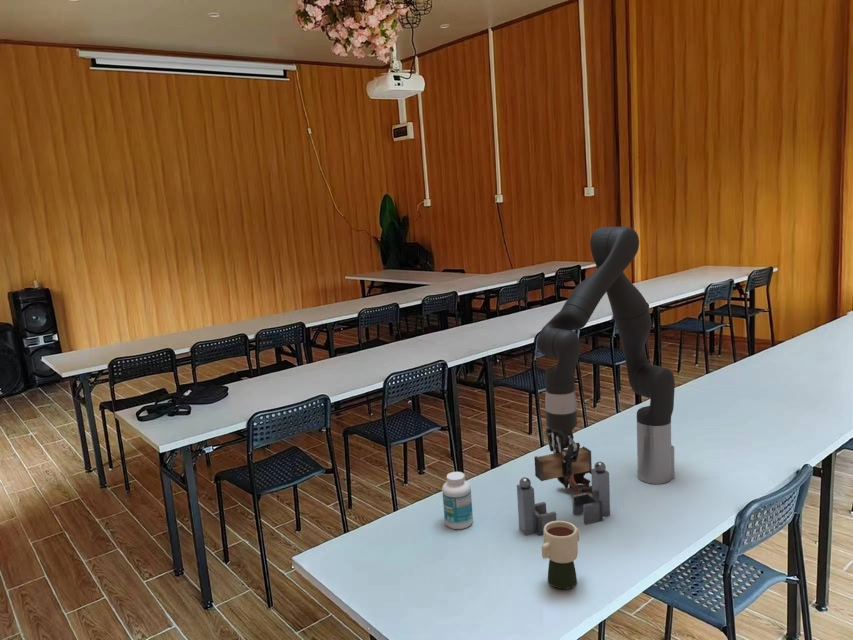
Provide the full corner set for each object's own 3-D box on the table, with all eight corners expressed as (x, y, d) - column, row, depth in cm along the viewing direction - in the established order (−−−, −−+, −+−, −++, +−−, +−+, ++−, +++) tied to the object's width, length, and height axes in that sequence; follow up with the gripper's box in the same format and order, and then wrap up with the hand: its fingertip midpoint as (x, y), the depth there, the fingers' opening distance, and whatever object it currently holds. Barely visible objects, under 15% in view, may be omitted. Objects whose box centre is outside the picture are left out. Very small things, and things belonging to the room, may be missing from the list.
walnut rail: (584, 465, 170) (584, 446, 168) (591, 470, 166) (591, 451, 165) (535, 475, 166) (534, 456, 165) (541, 481, 163) (540, 461, 162)
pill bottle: (440, 520, 175) (436, 473, 172) (466, 513, 177) (462, 466, 175) (451, 533, 168) (447, 484, 165) (477, 526, 170) (474, 477, 168)
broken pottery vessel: (599, 486, 188) (604, 469, 182) (592, 514, 181) (596, 497, 176) (558, 473, 191) (561, 456, 186) (549, 499, 185) (552, 482, 179)
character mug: (567, 566, 150) (565, 514, 147) (592, 580, 144) (590, 526, 141) (532, 585, 144) (529, 531, 141) (556, 600, 138) (553, 544, 135)
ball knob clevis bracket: (599, 506, 175) (598, 456, 172) (613, 518, 169) (612, 465, 166) (516, 526, 169) (513, 473, 166) (527, 538, 163) (524, 484, 160)
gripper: (589, 413, 157) (591, 480, 160) (560, 397, 170) (563, 459, 174) (561, 419, 155) (563, 487, 158) (534, 402, 168) (537, 465, 172)
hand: (563, 472), depth 166 cm, fingers closed on walnut rail, 3 cm apart
